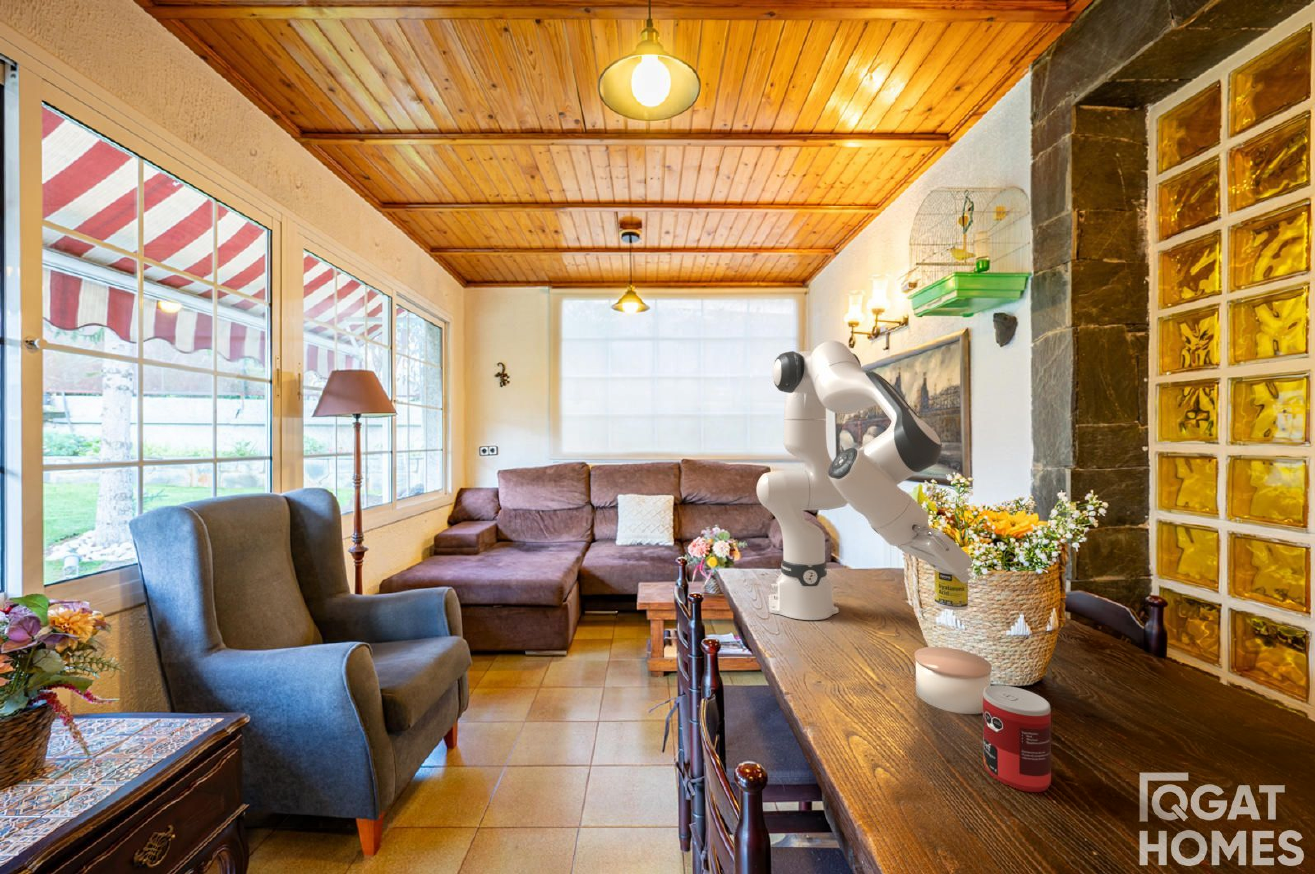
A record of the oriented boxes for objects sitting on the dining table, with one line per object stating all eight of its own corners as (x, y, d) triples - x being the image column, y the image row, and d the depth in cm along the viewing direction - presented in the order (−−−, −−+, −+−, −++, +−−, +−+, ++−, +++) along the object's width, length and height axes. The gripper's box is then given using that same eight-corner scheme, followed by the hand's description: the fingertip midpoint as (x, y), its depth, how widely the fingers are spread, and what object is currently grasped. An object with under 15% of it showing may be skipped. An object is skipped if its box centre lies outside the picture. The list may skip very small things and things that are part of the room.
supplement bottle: (934, 608, 98) (934, 554, 98) (934, 600, 103) (934, 549, 103) (968, 612, 95) (968, 557, 95) (967, 604, 100) (967, 551, 100)
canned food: (987, 752, 81) (987, 679, 81) (1053, 773, 76) (1052, 695, 76) (978, 777, 75) (978, 698, 75) (1049, 801, 70) (1048, 717, 70)
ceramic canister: (902, 682, 105) (902, 646, 105) (965, 682, 105) (965, 646, 105) (936, 715, 92) (936, 674, 92) (1008, 714, 93) (1007, 674, 93)
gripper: (944, 517, 88) (1003, 577, 89) (889, 503, 109) (937, 551, 109) (918, 545, 88) (977, 604, 88) (867, 525, 109) (915, 573, 109)
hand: (954, 575), depth 99 cm, fingers closed on supplement bottle, 5 cm apart
